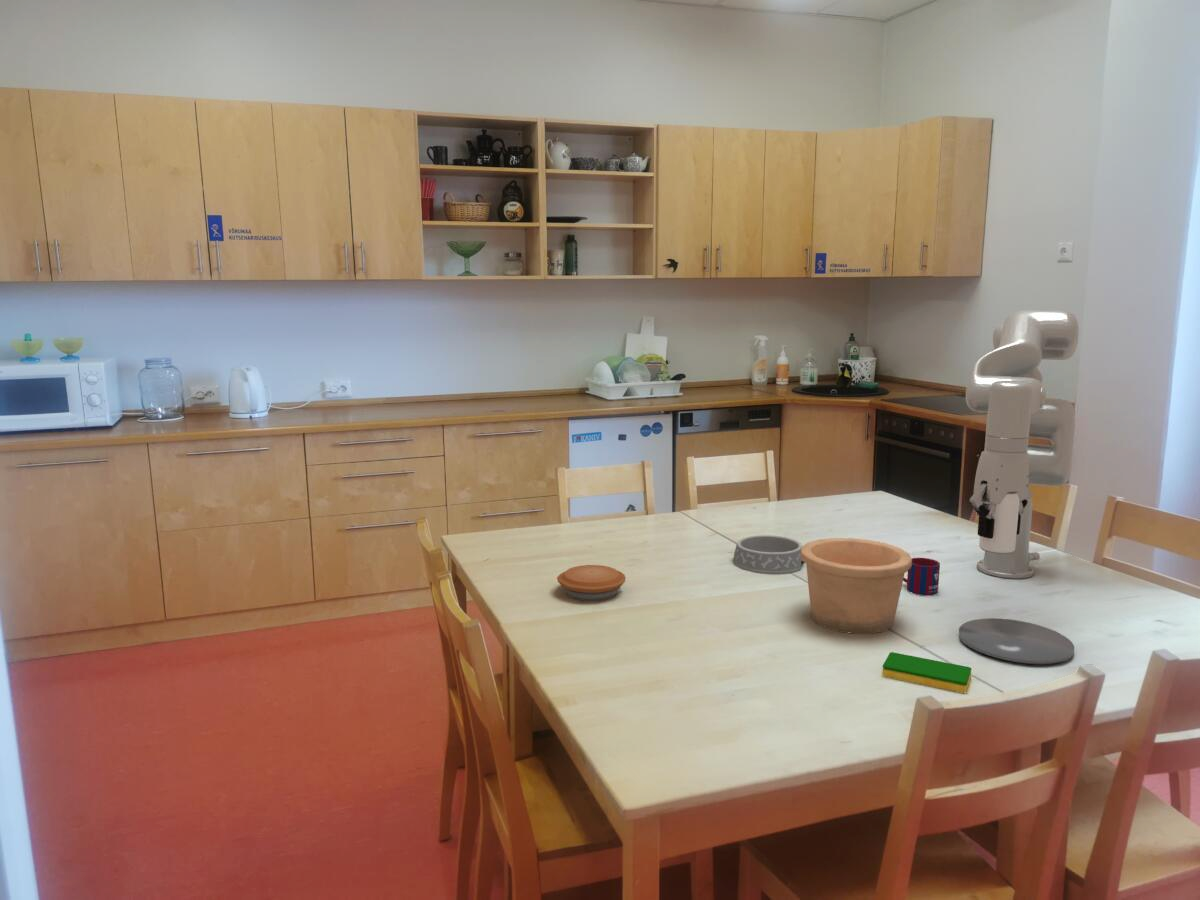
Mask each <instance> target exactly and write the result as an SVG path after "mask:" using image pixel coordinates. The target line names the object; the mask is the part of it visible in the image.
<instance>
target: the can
mask: <svg viewBox="0 0 1200 900" xmlns="http://www.w3.org/2000/svg"><path fill="white" fill-rule="evenodd" d="M1017 493H1018V492H1016V493H1006V494H1007V495H1006V496H1005V498H1004V499H1003V500H1002V501H1001V503H1000V504H998V505H996V509H995V511H994V514H993V516H992V518H993V519H994V532H993V538H991V539H988V538H985V537H982V536H979V541H978V547H979V548H980V549H981V550H982V551H983V552H985V551H987V552H991V553H997V554H1009V553H1012V552H1013V551H1014V550H1015V544H1016V534H1017V523H1018V512H1019V497H1018V495H1017ZM986 501H989V498H987V497H986ZM989 506H990V505H986V509H987V510H988V508H989Z"/></svg>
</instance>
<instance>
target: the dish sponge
mask: <svg viewBox="0 0 1200 900" xmlns="http://www.w3.org/2000/svg"><path fill="white" fill-rule="evenodd" d="M881 673H882V675H883V676H882V675H881V676H882V677H884V678H888V677H890V678H889V679H895V680H898V681H899V680H900V681H904V682H908V683H912V682H913V684H917V683H918V684H917V685H922V684H923V686H926V685H928V687H931V686H933V687H932V688H936V687H938V688H937V689H941V688H943V689H942V690H945V689H947V691H950V690H952V691H951V692H955V691H958V692H957V693H960V692H963V693H962V694H965V693H964V692H966V693H967V692H968V689H967V688H969V686H968V685H970V682H971V680H972V679H971V678H972V668H971V667H970V666H965V665H960V664H954V663H950V662H944V661H940V660H935V659H929V658H925V657H924V658H923V657H920V656H914V655H908V654H904V653H899V652H893V651H891V652H889V654H888V655H887V657H886V659H885V661H884V663H883V664H882V671H881Z"/></svg>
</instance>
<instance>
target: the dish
mask: <svg viewBox="0 0 1200 900" xmlns="http://www.w3.org/2000/svg"><path fill="white" fill-rule="evenodd" d="M958 637H959V639H960V641H962V643H963V644H965V645H966V646H967V647H969V648H971V649H973V650H975V651H977V652H979V653H982V654H984V655H987V656H989V657H993V658H996V659H1001V660H1005V661H1009V662H1015V663H1020V664H1021V663H1023V664H1033V665H1046V664H1047V665H1050V664H1057V663H1062V662H1065V661H1067V660H1069V659H1071V658H1072V657H1073V656H1074V653H1075V646H1074V644H1073V642H1072V641H1071V640H1070V638H1068V637H1067V636H1065V635H1064V634H1061V633H1059V632H1057V631H1055V630H1053V629H1050V628H1049V627H1046V626H1042V625H1039V624H1035V623H1032V622H1026V621H1023V620H1022V621H1021V620H1015V619H1010V618H1009V619H1008V618H1007V619H1006V618H992V617H991V618H979V619H978V618H976V619H972V620H969V621H966V622H963V623H962V624H961V625H959V628H958Z"/></svg>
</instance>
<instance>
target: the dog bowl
mask: <svg viewBox="0 0 1200 900" xmlns="http://www.w3.org/2000/svg"><path fill="white" fill-rule="evenodd" d="M802 546H803V544H802V543H801V542H800V541H798V540H796V539H794V538H791V537H786V536H780V535H771V534H767V535H766V534H764V535H763V534H762V535H761V534H760V535H759V534H757V535H749V536H747V537H743V538H741V539H739V540H738V541H737V542H736V546H735V549H734V553H733V561H732V564H733V565H734V566H735V567H737V568H739V569H741V570H743V571H747V572H751V573H755V574H761V575H776V576H778V575H779V576H780V575H789V574H795V573H798V571H799V572H801V567H802V562H803V561H802V560H801V547H802Z"/></svg>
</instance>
